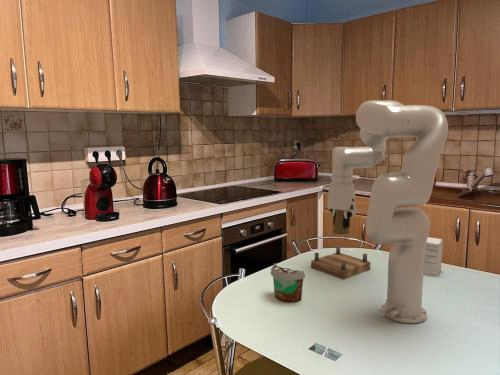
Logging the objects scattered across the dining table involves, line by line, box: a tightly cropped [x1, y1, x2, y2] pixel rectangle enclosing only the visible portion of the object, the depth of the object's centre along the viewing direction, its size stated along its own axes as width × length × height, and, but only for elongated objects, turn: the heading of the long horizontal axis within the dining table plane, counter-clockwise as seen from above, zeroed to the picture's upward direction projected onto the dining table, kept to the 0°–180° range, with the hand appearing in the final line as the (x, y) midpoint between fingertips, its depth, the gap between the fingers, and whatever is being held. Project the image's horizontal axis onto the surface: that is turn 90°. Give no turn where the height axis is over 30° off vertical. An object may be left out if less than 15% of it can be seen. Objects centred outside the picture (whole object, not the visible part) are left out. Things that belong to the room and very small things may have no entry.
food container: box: [270, 263, 306, 304], centre depth 126 cm, size 12×6×10 cm, turn 47°
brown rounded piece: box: [332, 209, 350, 235], centre depth 151 cm, size 6×6×11 cm
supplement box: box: [423, 236, 444, 278], centre depth 148 cm, size 7×7×13 cm
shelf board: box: [310, 245, 371, 280], centre depth 153 cm, size 16×16×6 cm
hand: (341, 226), depth 151 cm, fingers closed on brown rounded piece, 3 cm apart
